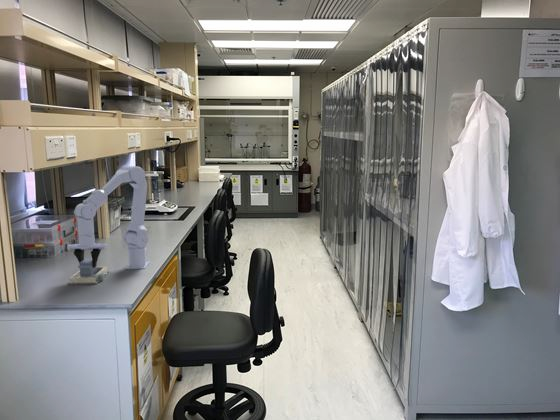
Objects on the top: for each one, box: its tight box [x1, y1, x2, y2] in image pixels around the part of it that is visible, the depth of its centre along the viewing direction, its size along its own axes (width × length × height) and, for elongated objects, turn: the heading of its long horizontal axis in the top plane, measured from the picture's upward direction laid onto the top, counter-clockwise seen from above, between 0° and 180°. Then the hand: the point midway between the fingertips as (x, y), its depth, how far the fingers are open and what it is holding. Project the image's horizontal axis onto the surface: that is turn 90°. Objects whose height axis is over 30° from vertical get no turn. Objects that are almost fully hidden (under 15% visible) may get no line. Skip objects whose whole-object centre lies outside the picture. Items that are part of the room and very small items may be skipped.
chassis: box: [67, 266, 110, 286], centre depth 176 cm, size 15×12×3 cm
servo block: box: [77, 257, 99, 276], centre depth 175 cm, size 10×4×6 cm, turn 4°
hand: (88, 267), depth 176 cm, fingers closed on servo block, 4 cm apart
